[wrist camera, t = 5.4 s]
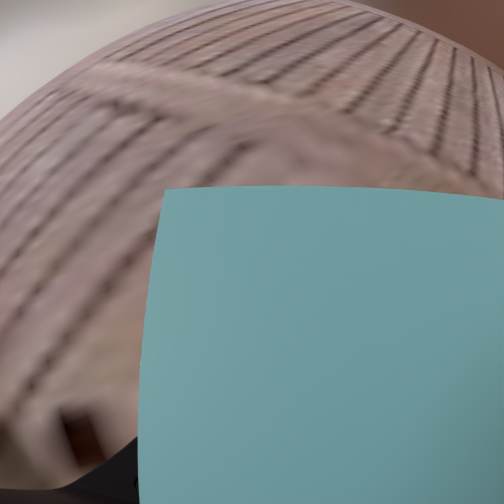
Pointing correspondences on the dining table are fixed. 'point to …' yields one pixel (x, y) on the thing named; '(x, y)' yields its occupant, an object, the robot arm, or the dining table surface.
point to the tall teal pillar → (323, 348)
